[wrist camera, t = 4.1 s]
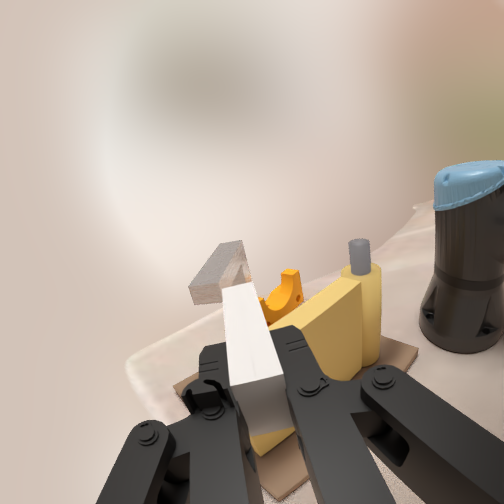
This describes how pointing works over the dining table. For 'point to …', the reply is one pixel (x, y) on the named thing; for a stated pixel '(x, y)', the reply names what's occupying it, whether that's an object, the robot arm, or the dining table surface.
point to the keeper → (220, 273)
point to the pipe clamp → (283, 297)
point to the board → (287, 451)
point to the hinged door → (338, 326)
